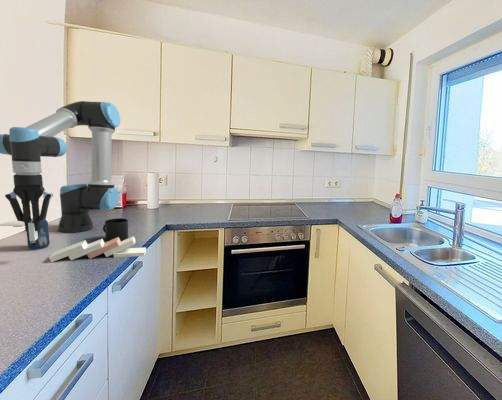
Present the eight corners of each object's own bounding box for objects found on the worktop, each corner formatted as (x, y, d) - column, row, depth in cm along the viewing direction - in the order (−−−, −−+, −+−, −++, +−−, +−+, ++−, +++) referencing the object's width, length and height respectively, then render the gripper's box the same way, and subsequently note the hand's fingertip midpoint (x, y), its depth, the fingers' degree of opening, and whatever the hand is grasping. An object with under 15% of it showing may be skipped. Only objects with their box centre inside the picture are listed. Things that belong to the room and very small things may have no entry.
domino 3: (86, 254, 96) (116, 241, 99) (90, 249, 102) (118, 236, 105) (89, 259, 97) (119, 245, 100) (92, 253, 102) (120, 241, 105)
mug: (110, 235, 126) (109, 217, 125) (132, 237, 124) (132, 219, 123) (95, 240, 117) (94, 221, 116) (119, 243, 115) (118, 223, 114)
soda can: (36, 244, 109) (33, 217, 107) (53, 244, 110) (51, 217, 108) (23, 250, 102) (20, 221, 100) (42, 250, 103) (39, 221, 101)
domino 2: (68, 255, 94) (99, 243, 98) (72, 250, 100) (102, 238, 103) (70, 260, 95) (102, 247, 98) (74, 254, 100) (104, 242, 104)
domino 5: (113, 254, 99) (144, 252, 102) (117, 248, 105) (146, 247, 108) (113, 259, 99) (144, 257, 102) (117, 253, 105) (146, 252, 108)
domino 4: (103, 252, 98) (132, 239, 101) (106, 248, 104) (133, 236, 107) (106, 257, 99) (134, 244, 102) (108, 252, 104) (135, 240, 107)
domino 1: (48, 257, 92) (81, 245, 95) (54, 251, 98) (85, 240, 101) (51, 262, 93) (83, 249, 96) (57, 256, 98) (87, 244, 101)
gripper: (-3, 174, 83) (5, 244, 86) (46, 175, 87) (52, 241, 91) (9, 172, 90) (16, 237, 93) (54, 173, 94) (59, 235, 98)
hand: (33, 239), depth 92 cm, fingers closed
